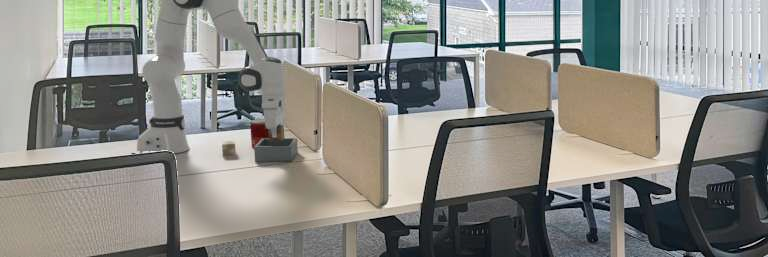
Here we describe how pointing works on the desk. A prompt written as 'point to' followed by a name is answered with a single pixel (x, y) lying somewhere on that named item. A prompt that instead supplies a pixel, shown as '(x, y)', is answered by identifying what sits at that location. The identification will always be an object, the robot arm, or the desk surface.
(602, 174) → the desk surface
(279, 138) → the walnut block
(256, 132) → the canned food
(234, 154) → the oak block
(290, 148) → the bin
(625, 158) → the desk surface
